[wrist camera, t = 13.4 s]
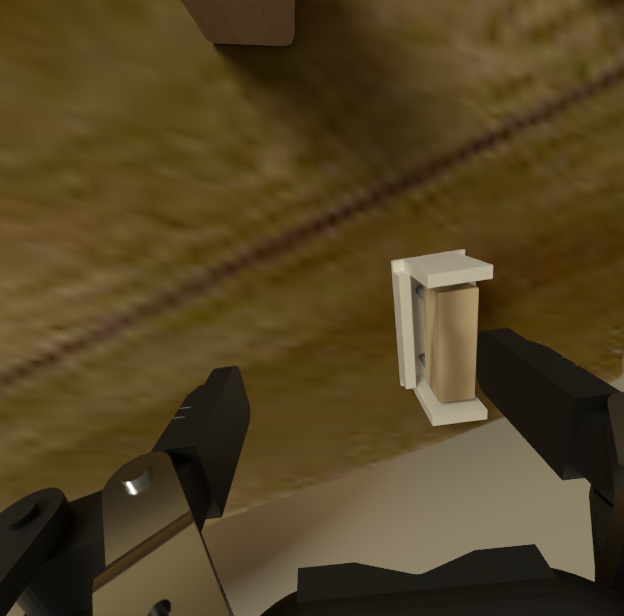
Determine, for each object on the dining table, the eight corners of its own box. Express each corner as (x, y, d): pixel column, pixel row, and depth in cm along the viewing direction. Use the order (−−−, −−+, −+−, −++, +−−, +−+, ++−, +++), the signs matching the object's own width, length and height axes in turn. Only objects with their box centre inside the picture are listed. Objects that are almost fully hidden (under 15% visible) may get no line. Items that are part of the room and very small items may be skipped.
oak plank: (458, 277, 38) (478, 287, 34) (456, 377, 43) (474, 398, 39) (423, 282, 39) (438, 293, 34) (425, 380, 44) (439, 402, 39)
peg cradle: (463, 249, 41) (507, 262, 32) (462, 375, 48) (498, 417, 39) (391, 260, 42) (413, 277, 33) (400, 384, 49) (421, 427, 39)
